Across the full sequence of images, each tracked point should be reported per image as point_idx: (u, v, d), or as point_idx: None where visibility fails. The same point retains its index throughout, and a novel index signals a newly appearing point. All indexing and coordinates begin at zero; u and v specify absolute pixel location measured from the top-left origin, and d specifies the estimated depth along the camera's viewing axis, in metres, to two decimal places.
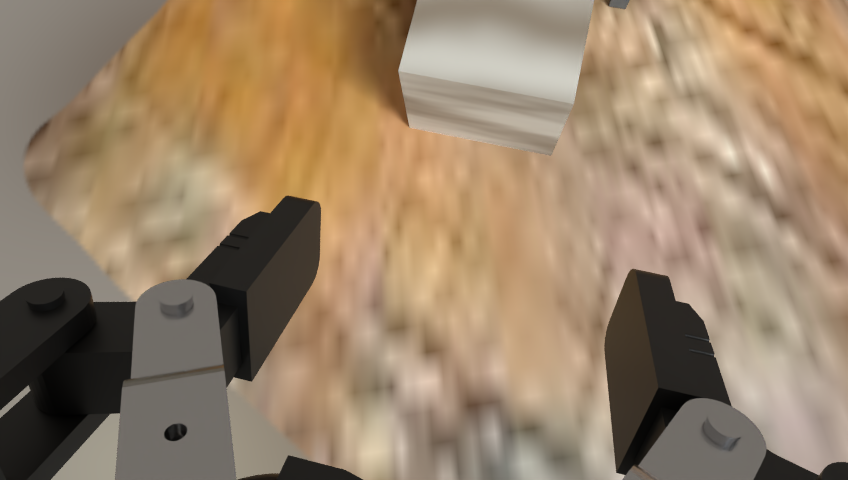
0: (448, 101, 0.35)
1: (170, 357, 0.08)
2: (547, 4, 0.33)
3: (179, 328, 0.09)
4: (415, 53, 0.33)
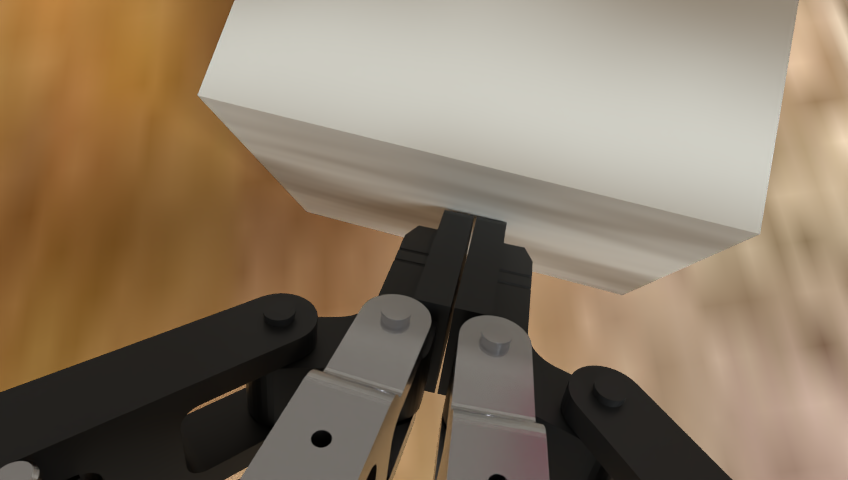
0: (369, 179, 0.13)
1: (363, 365, 0.09)
2: None
3: (384, 341, 0.09)
4: (257, 41, 0.11)
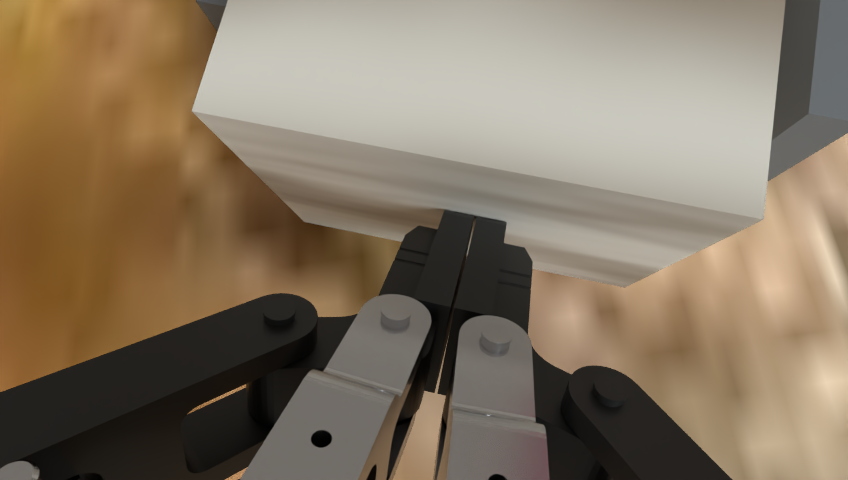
0: (367, 186, 0.13)
1: (363, 365, 0.09)
2: None
3: (384, 341, 0.09)
4: (248, 54, 0.11)
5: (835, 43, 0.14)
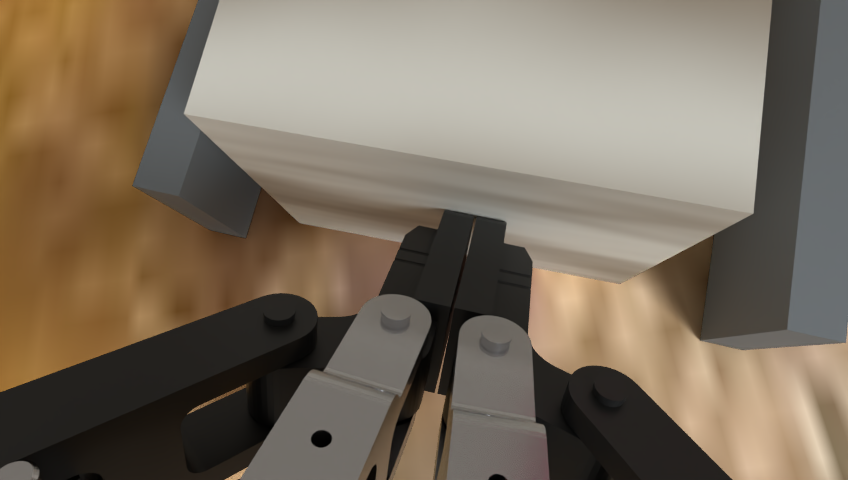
0: (360, 186, 0.13)
1: (363, 365, 0.09)
2: None
3: (384, 341, 0.09)
4: (239, 56, 0.11)
5: (816, 248, 0.13)
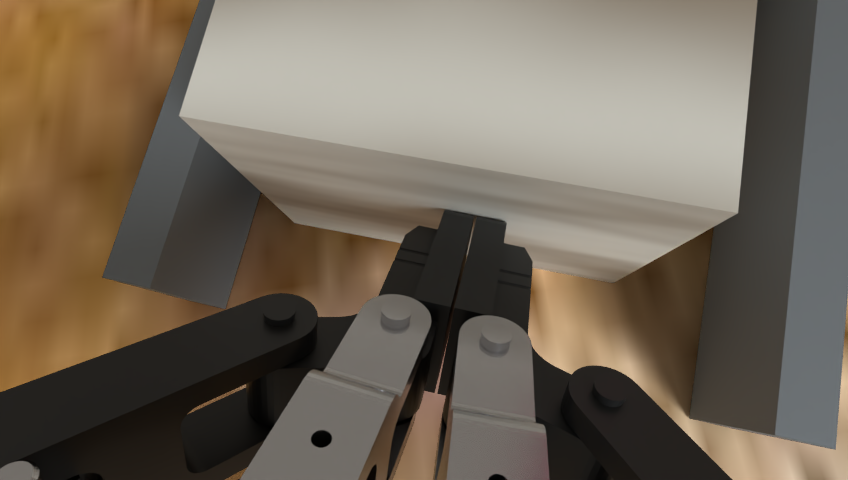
0: (354, 187, 0.13)
1: (363, 365, 0.09)
2: None
3: (383, 341, 0.09)
4: (233, 59, 0.11)
5: (805, 347, 0.12)
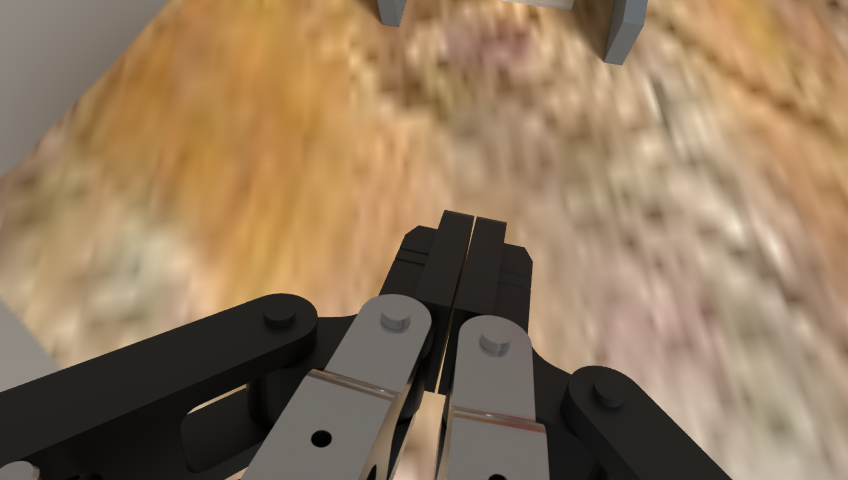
0: None
1: (363, 365, 0.09)
2: None
3: (384, 341, 0.09)
4: None
5: None
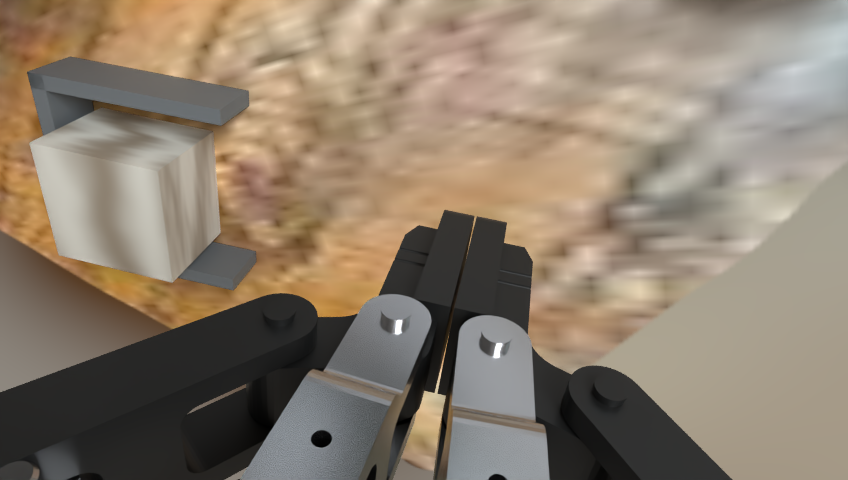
0: (186, 236, 0.47)
1: (363, 365, 0.09)
2: (88, 185, 0.43)
3: (384, 341, 0.09)
4: (156, 271, 0.46)
5: (195, 114, 0.42)
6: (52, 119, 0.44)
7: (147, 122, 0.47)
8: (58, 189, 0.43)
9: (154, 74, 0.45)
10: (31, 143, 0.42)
